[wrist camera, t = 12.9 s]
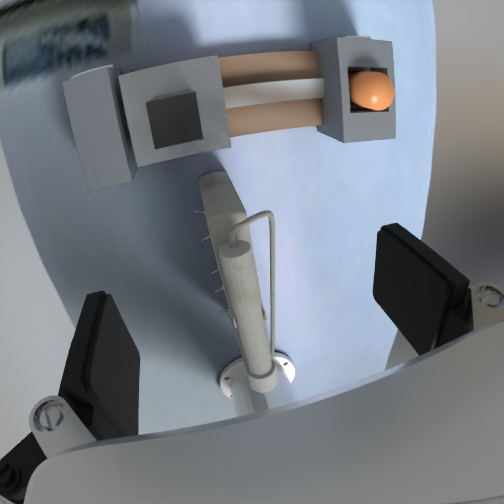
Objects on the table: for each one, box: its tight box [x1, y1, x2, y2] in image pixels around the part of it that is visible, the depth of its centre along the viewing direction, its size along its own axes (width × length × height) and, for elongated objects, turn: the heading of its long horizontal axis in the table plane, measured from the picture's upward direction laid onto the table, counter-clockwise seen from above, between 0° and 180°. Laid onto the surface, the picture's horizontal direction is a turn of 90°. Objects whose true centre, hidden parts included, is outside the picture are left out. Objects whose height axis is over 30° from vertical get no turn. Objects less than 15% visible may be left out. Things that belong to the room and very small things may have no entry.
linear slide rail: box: [62, 36, 396, 193], centre depth 26 cm, size 10×29×6 cm, turn 97°
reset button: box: [348, 71, 394, 110], centre depth 26 cm, size 4×4×4 cm
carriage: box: [119, 55, 231, 167], centre depth 22 cm, size 8×8×10 cm
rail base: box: [123, 50, 326, 137], centre depth 28 cm, size 8×29×2 cm, turn 97°
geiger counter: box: [195, 171, 278, 393], centre depth 34 cm, size 14×6×25 cm
